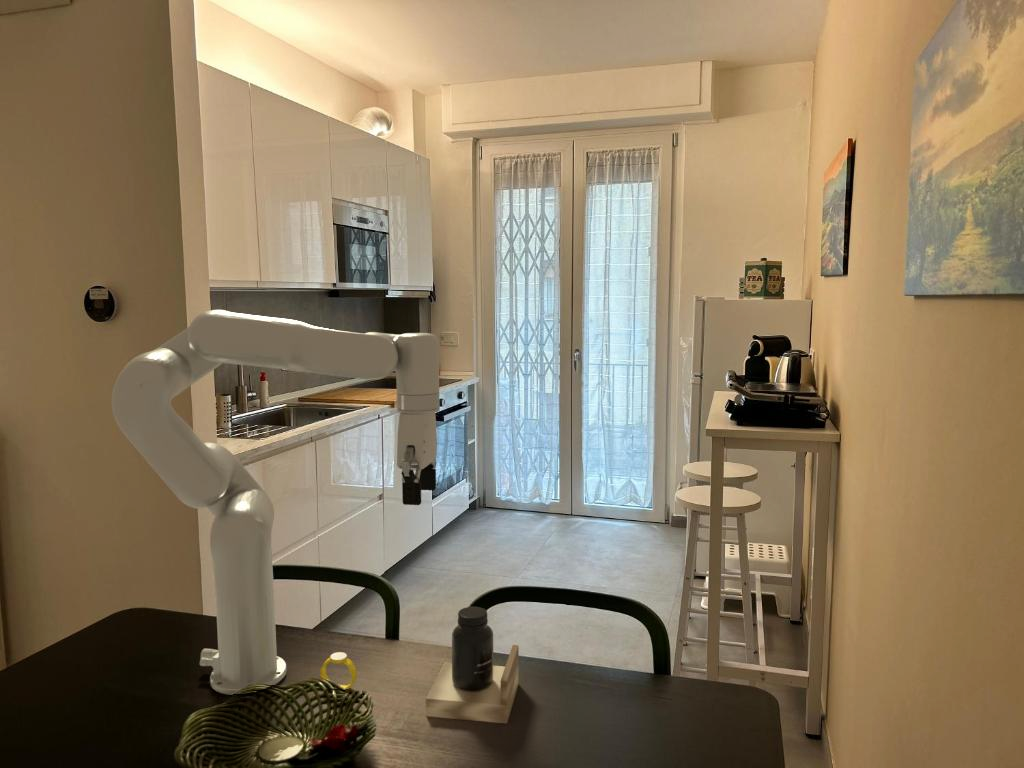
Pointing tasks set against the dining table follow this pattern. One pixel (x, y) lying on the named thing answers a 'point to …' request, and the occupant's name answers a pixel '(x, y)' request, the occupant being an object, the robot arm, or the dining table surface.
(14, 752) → the dining table surface
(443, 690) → the birch stand
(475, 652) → the supplement bottle
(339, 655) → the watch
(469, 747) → the dining table surface
